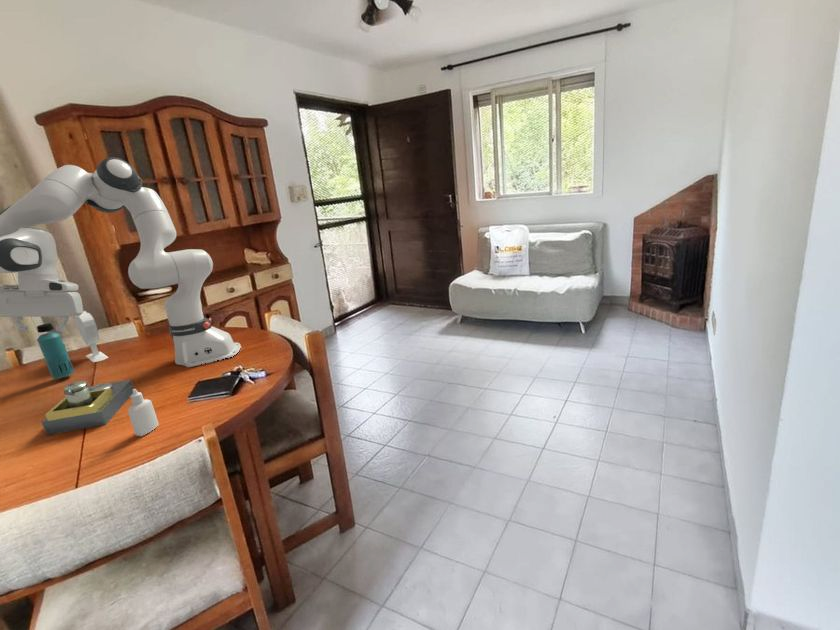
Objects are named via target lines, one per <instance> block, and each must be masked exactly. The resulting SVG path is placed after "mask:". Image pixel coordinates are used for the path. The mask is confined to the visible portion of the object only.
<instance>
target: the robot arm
mask: <svg viewBox="0 0 840 630" xmlns="http://www.w3.org/2000/svg"><path fill="white" fill-rule="evenodd" d="M84 203H85V204H86V205H87V206H90V207H92V208H94V209H95V210H97V211H100V212H102V213H106V214H115V213H117V212H119V211H121V210H122V209H123V208H124V207H125V208H126V209H127V210H128V211H129V213H130V215H131V218H132V221H133V223H134V225H135V229H136V231H137V234H138V236H139V240H140V248H139V252H138V253H137V255H136V257H135V258H134V259H132V261H131V262H130V263H129V266H128V271H127V274H128V278H129V280H130V281H131V282H132V284H133V285H134V286H136V287H137V288H139V289H141V290H143V289H144V290H145V289H146V290H147V289H159V288H165V287H168V286H174V285H178V287H177V289H176V291H175V292H174V293H173V294H171V295H170V296H169V297H168V298H167V299H166V301H164V302H165V303H164V309H165V313H166V315H167V316H166V317H167V320H168V328H169V329H168V330H169V334H170V336H171V338H172V340H173V344H174V345H173V346H174V354H175V355H174V363H175V364H176V365H178V366H184V367H186V368H191V367H195V366H200V365H201V364H202V365H205V363H206V364H210V363H214V361H215V362H218V361H217V360H219V361H223V360H222V359H224V360H226V359H225V358H228V359H231V358H230V357H232V358H234V357H235V356H234V355H236V354H237V353H238V352H239V350H240V348H241V349H242V345H241V343H239V342H234V340H233V338H232V336H231V334H230V333H229V332H227V331H224V330H222V329H219V328H218V327H215V326H213V325H212V318H211V317H209V318H207V317H205V316H204V313H203V309H202V302H201V291H202V287H203V284H204V282H205V281H206V279H207V278H208V277H209V276H210V275H211V273H212V271H213V266H214V262H213V259H212V257H211V256H210V254H209V253H208V252H207V251H205V250H204V249H200V248H199V249H197V248H196V249H195V248H194V249H193V248H191V249H190V248H189V249H182V250H176V251H170V252H166V251H165V250H164V249H165V248H166V247H169V246H170V245H171V244H173V243H174V241H175V240H176V239H177V230H176V228H175V225H174V223H173V219H172V218H171V216H170V213H169V210H168V209H167V207H166V205H165V203H164V202H163V200H162V199H161V197H160V195H159V194H158V193H157V191H155V190H154V189H153V188H149V187H144V186H143V180H142V178H141V177H140V176H139V175H138V173H137V171H136V170H135V168H134V167H133V166H132V165H131V164H130V163H128V162H127V161H126V160H124V159H122V158H119V157H116V156H115V157H114V156H109V157H107V158H106V157H105V158H104V159H103V160H101V161H100V162H99V163H98V164H97V166H96V169H95V171H94V172H87V171H86V170H85V169H83V168H82V167H80V166H77V165H75V164H74V165H73V164H65V165H62V166H61V167H58V168H57V169H54V171H52V172H50V173H49V174H47V175H46V176H45V177H44V178H43V179H41V181H40V182H39V183H38V184H37V185H35V186H34V187H33V188H32V189H31V190H30V191H29V192H27V193H26V194H25V195H24V196H22V197H21V198H19V199H18V200H17V201H15V202H14V203H12V204H10V205H9V206H7V207H6V208H4V210H2V211H1V212H0V274H14V273H17V284H3V285H2V286H1V285H0V318H11V321H12V322H13V324H14V325H15V326H16V327H17V332H18V333H20V334H21V333H28V332H29V328H28V325H24V323H23V321H24V318H27V317H28V318H35V317H36V318H37V317H42V318H43V317H46V318H47V317H55V318H56V317H58V321H60V322H59V325H55V332H56V333H61V332H62V333H63V332H65V331H66V327H65V326H66V325H67V323H68V322H69V320H70V317H73V316H80V315H81V314H82V313H83V311H84V307H83V300H82V296H81V294H80V292H77V291H79V284H77V283H74V282H71V281H67V280H63V279H59V272H58V270H57V263H58V252H57V251H58V250H57V244H56V240H55V238H54V235H53V234H52V233H51V232H50V231H47V230H45V229H41V228H34V227H35V226H39V225H45V224H52V223H59V222H63V221H64V220H67V219H69V218H71V217H72V216H73V215H75V214H76V212H78V211H79V209H80V208H81V207H82V206H83V205H84ZM240 351H241V350H240ZM239 353H240V352H239ZM239 353H238V354H239ZM238 354H237V355H238ZM237 355H236V356H237ZM233 356H234V357H233Z"/></svg>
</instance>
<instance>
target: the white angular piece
mask: <svg viewBox="0 0 840 630" xmlns="http://www.w3.org/2000/svg"><path fill="white" fill-rule="evenodd" d="M72 318H73V321H74V323H75V326H76V328H77V330H78V333H79V334H80V336H81V338H82V340H83V342H84V343H85V346H86V347H89V348H90V350H91V353H89V354H87V355H85V357H86V358H87V359H89V360H90V361H91V362H92V363H95V362H96V363H97V362H101V361H104V360H106V359H109V356H107V355H106V354H105V353H103V352H102V351H99V349H98V346H97V344H99V340H100V338H99V337H100V336H99V330H98V328H97V324H96V321H95V318H94V317H93V315H92V314H91V313H90V312H88V311H86V310H83V313H82V314H81V315H80V316H72Z"/></svg>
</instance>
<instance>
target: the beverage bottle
mask: <svg viewBox="0 0 840 630" xmlns="http://www.w3.org/2000/svg"><path fill="white" fill-rule="evenodd" d="M36 330H37V333H42V334H39V335H40V336H38V337H37V339H36V341H37V344H38V346H39V348H40V352H41V354H42V355H43V357H44V361H45V363H46V366H47V368H48V372H49V374H50V376H51V378H52V379H61V378H65V377H68V376H70V375H72V374H74V373H75V370H74V369H75V368H74V366H73V363H72V360H71V358H70V355H69V354H68V351H67V348H66V347H67V346H66V344H65V343H64V340H63V338H62V337H61V334H60V332H56V331H53V330H55V329H54V326H53V324H52V323H50V322H49V323H42V324H40V325H37V326H36ZM49 331H50V332H49Z"/></svg>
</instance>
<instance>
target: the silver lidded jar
mask: <svg viewBox="0 0 840 630" xmlns="http://www.w3.org/2000/svg"><path fill="white" fill-rule="evenodd" d="M88 386H89V385H88V383H87V381H85V380H80V381H74V382H72V383H69V384H66V385H65V386H63V393H64V395H65V397H67V400H68V403H69V405H70V408H76V407H82V406H87V405H91V404H92V403H93V400H92V397H91V394H90V391H89V388H88Z"/></svg>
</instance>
